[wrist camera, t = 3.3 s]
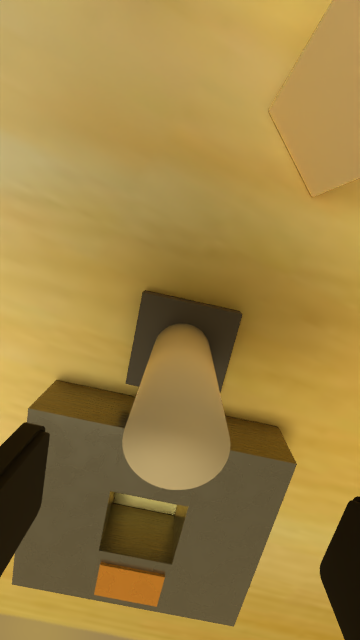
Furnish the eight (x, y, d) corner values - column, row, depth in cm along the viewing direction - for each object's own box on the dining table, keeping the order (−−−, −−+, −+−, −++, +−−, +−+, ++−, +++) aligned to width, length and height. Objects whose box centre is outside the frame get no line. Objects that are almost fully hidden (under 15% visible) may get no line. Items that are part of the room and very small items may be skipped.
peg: (160, 317, 20) (132, 386, 10) (215, 330, 20) (243, 410, 10) (149, 369, 20) (114, 478, 11) (202, 381, 21) (215, 498, 11)
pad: (144, 290, 20) (142, 292, 19) (239, 311, 20) (242, 314, 19) (128, 377, 22) (125, 383, 21) (215, 396, 22) (217, 403, 21)
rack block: (56, 380, 22) (26, 410, 18) (278, 426, 22) (298, 466, 18) (38, 534, 26) (10, 587, 22) (227, 571, 26) (234, 629, 22)
